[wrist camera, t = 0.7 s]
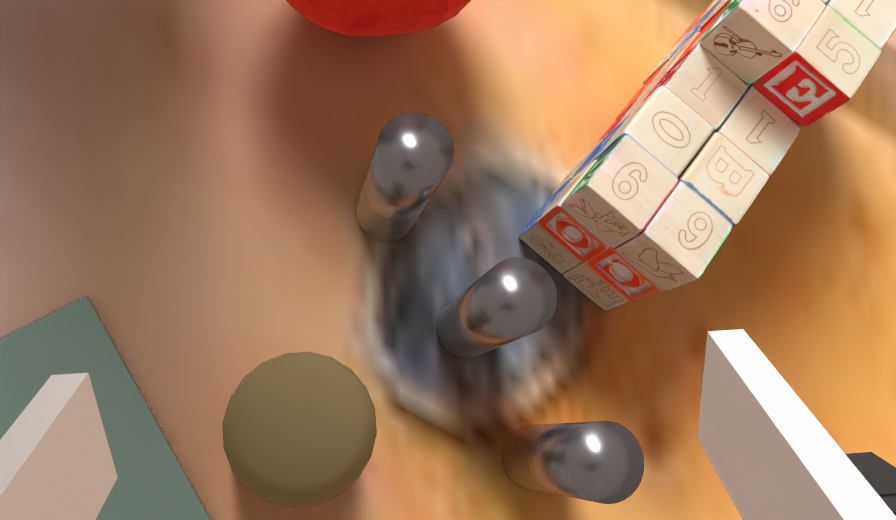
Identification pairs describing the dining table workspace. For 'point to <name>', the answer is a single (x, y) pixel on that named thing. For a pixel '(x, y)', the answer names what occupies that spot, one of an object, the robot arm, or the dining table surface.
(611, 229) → the stack of blocks
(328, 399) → the cork
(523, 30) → the dining table surface
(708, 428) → the robot arm
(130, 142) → the dining table surface
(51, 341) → the mat
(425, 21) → the apple
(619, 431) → the spacer posts
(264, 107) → the dining table surface
